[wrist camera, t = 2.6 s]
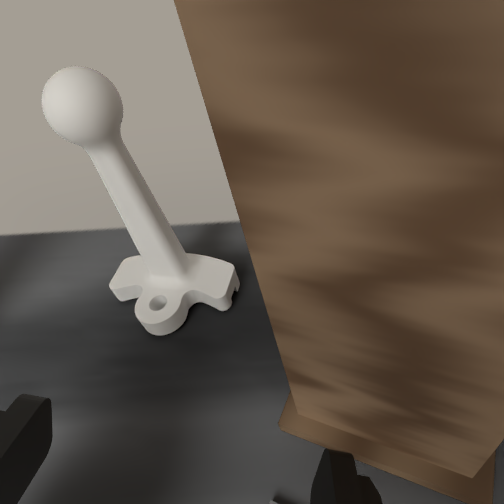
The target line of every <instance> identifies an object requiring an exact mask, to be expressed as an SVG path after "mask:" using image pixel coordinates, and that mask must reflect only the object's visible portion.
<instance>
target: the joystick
mask: <svg viewBox="0 0 504 504" xmlns="http://www.w3.org/2000/svg"><path fill="white" fill-rule="evenodd" d="M42 109H43V113H44V116H45V118H46V120H47V121H48V123H49V125H50V126H51V128H52V129H53V130H54V131H55V132H56V133H57V134H58V135H59V136H61V137H62V138H63V139H65V140H67V141H69V142H71V143H74V144H77V145H79V146H81V147H82V148H83V149H85V151H86V152H87V153H88V154H89V156H90V158H91V160H92V162H93V164H94V166H95V168H96V170H97V172H98V174H99V175H100V177H101V179H102V181H103V183H104V185H105V187H106V189H107V191H108V193H109V195H110V197H111V199H112V201H113V203H114V205H115V207H116V209H117V210H118V212H119V214H120V216H121V218H122V220H123V222H124V224H125V226H126V228H127V230H128V232H129V234H130V236H131V238H132V240H133V242H134V244H135V245H136V247H137V249H138V251H139V253H140V255H139V256H133V257H129V258H126V259H124V260H123V261H122V263H121V265H120V266H119V268H118V270H117V271H116V273H115V275H114V277H113V278H112V280H111V282H110V284H109V287H110V289H111V290H112V291H113V293H114V294H115V295H116V297H117V298H118V299H119V300H120V301H126V300H130V299H134V298H138V300H137V302H136V305H135V314H136V317H137V318H138V320H139V321H140V322H141V324H142V325H143V326H144V328H145V329H146V330H147V331H148V332H149V333H151V334H153V335H166V334H169V333H172V332H173V331H175V330H177V329H178V328H179V327H180V326H181V325H182V324H183V323H184V321H185V320H186V317H187V314H188V310H189V308H190V307H191V306H192V305H193V304H195V303H197V302H203V303H206V304H208V305H210V306H212V307H214V308H216V309H218V310H220V311H225V310H227V309H229V308H230V307H231V304H232V300H231V297H232V294H233V291H236V292H238V289H239V286H240V282H239V279H238V276H237V274H236V271H235V268H234V265H233V264H231V263H228V262H226V261H223V260H220V259H216V258H213V257H209V256H204V255H198V254H191V253H185V251H184V249H183V247H182V246H181V244H180V242H179V240H178V239H177V237H176V235H175V233H174V231H173V230H172V228H171V226H170V224H169V223H168V221H167V219H166V217H165V216H164V214H163V212H162V211H161V208H160V207H159V205H158V203H157V202H156V200H155V198H154V196H153V194H152V193H151V191H150V189H149V187H148V186H147V184H146V182H145V180H144V178H143V177H142V175H141V173H140V171H139V170H138V168H137V166H136V164H135V162H134V161H133V159H132V157H131V155H130V154H129V152H128V150H127V148H126V146H125V145H124V143H123V141H122V138H121V134H120V125H121V122H122V118H123V105H122V100H121V97H120V95H119V93H118V91H117V89H116V87H115V86H114V85H113V83H112V82H111V81H110V80H109V79H108V78H107V77H105V76H104V75H103V74H101V73H100V72H98V71H96V70H93V69H91V68H88V67H82V66H72V67H67V68H64V69H61V70H59V71H57V72H56V73H55V74H53V75H52V76H51V77H50V78H49V80H48V81H47V83H46V84H45V87H44V89H43V93H42Z"/></svg>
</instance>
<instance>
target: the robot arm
mask: <svg viewBox="0 0 504 504" xmlns="http://www.w3.org/2000/svg"><path fill="white" fill-rule="evenodd" d="M51 442H52V408H51V400H50V399H49V398H44V397H39V396H33V395H28V394H21V395H20V396H18V397H17V398H16V400H15V401H14V402H13V403H12V404H11V406H10V407H9V408H8V409H7V410H6V412H5V411H0V504H17V503H18V502H19V500H20V498H21V497H22V495H23V494H24V492H25V490H26V489H27V487H28V485H29V484H30V482H31V481H32V479H33V477H34V476H35V474H36V473H37V471H38V469H39V468H40V466H41V465H42V463H43V461H44V460H45V458H46V456H47V454H48V451H49V449H50V446H51ZM310 504H382V500H381V496H380V494H379V493H378V491H377V489H376V488H375V486H374V484H373V483H372V481H371V480H370V478H369V477H366V476H361V475H357V471H356V466H355V461H354V457H353V455H352V453H349V452H343V451H338V450H332V449H327V448H326V449H325V450H324V452H323V455H322V458H321V461H320V464H319V466H318V469H317V472H316V475H315V478H314V481H313V484H312V489H311V500H310Z"/></svg>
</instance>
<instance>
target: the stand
mask: <svg viewBox="0 0 504 504" xmlns="http://www.w3.org/2000/svg"><path fill="white" fill-rule="evenodd" d="M174 3H175V5H176V9H177V13H178V16H179V19H180V22H181V26H182V29H183V32H184V36H185V39H186V42H187V46H188V49H189V52H190V55H191V59H192V62H193V66H194V69H195V72H196V76H197V79H198V82H199V86H200V89H201V92H202V96H203V99H204V102H205V106H206V109H207V112H208V115H209V119H210V122H211V126H212V129H213V132H214V136H215V139H216V142H217V146H218V149H219V152H220V156H221V159H222V162H223V166H224V169H225V172H226V176H227V179H228V182H229V186H230V189H231V192H232V196H233V199H234V202H235V206H236V209H237V212H238V215H239V219H240V222H241V226H242V229H243V232H244V236H245V239H246V242H247V246H248V249H249V252H250V256H251V259H252V262H253V266H254V269H255V272H256V276H257V279H258V282H259V286H260V289H261V292H262V296H263V299H264V302H265V306H266V309H267V312H268V316H269V319H270V322H271V326H272V329H273V332H274V336H275V339H276V342H277V346H278V349H279V352H280V356H281V359H282V362H283V366H284V369H285V372H286V376H287V379H288V382H289V386H290V389H291V391H290V393H289V396H288V399H287V401H286V404H285V406H284V409H283V412H282V414H281V417H280V420H279V422H278V425H279V427H280V429H281V430H282V431H285V432H287V433H290V434H292V435H295V436H297V437H300V438H302V439H305V440H307V441H310V442H312V443H315V444H318V445H320V446H323V447H325V448H328V449H332V450H338V451H343V452H349V453H352V455H353V457H354V459H356V460H358V461H361V462H363V463H366V464H368V465H371V466H373V467H376V468H378V469H381V470H384V471H386V472H389V473H391V474H394V475H396V476H399V477H401V478H404V479H406V480H409V481H412V482H414V483H417V484H419V485H422V486H424V487H427V488H429V489H432V490H434V491H437V492H439V493H442V494H445V495H447V496H450V497H452V498H455V499H457V500H460V501H462V502H465V503H467V504H493V487H494V470H495V454H496V448H497V447H498V446H499V445H500V443H501V442H502V441H503V440H504V0H174Z"/></svg>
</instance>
